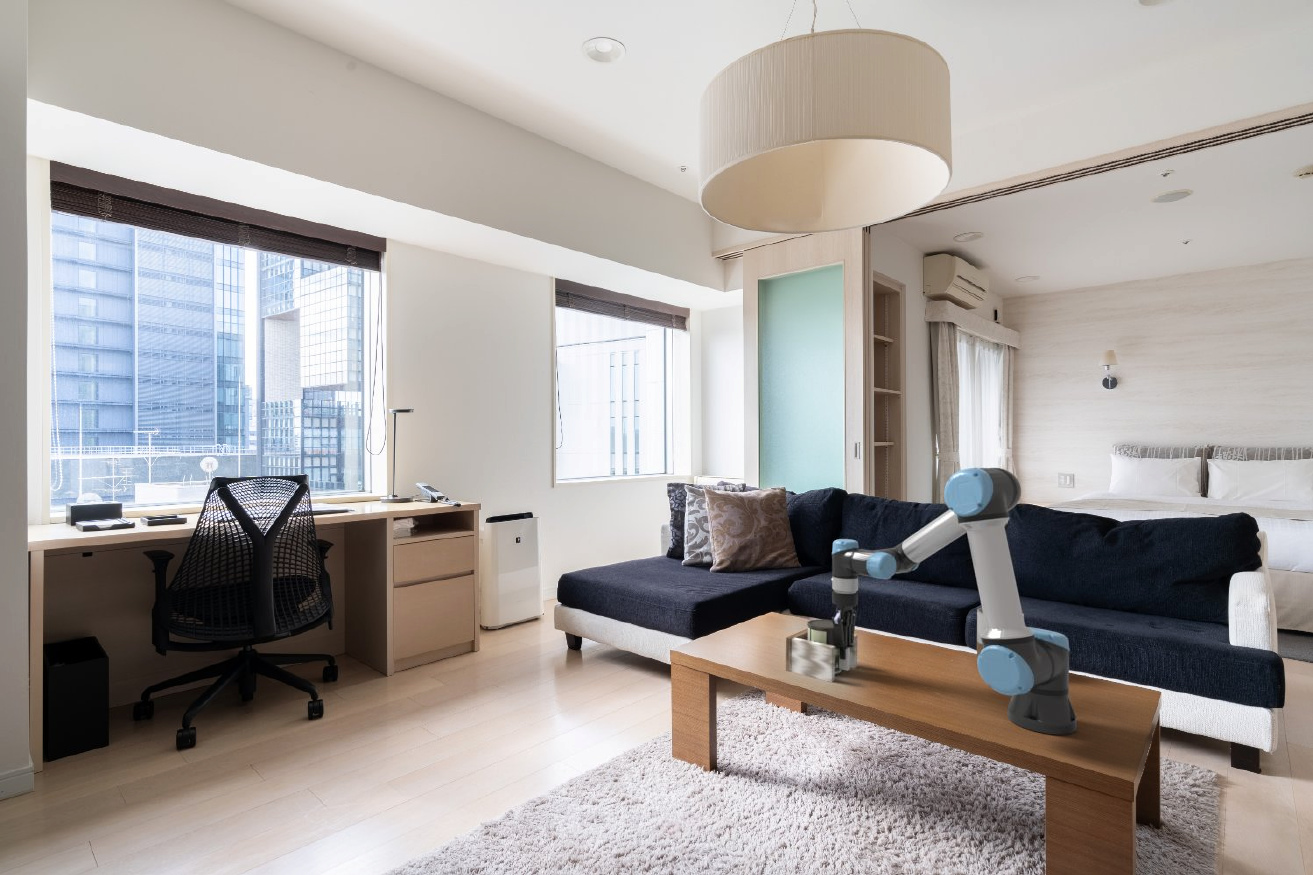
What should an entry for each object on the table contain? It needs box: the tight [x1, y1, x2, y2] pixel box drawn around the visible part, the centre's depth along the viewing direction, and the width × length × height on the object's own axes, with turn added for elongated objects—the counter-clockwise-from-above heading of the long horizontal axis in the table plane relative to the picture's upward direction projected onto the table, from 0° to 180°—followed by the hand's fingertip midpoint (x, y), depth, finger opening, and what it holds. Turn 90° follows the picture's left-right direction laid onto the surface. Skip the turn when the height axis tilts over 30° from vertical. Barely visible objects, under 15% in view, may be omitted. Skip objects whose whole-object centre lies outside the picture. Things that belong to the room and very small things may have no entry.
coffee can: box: [806, 618, 842, 675], centre depth 207 cm, size 10×10×14 cm
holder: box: [785, 627, 858, 683], centre depth 207 cm, size 15×18×10 cm
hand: (844, 668), depth 203 cm, fingers closed
